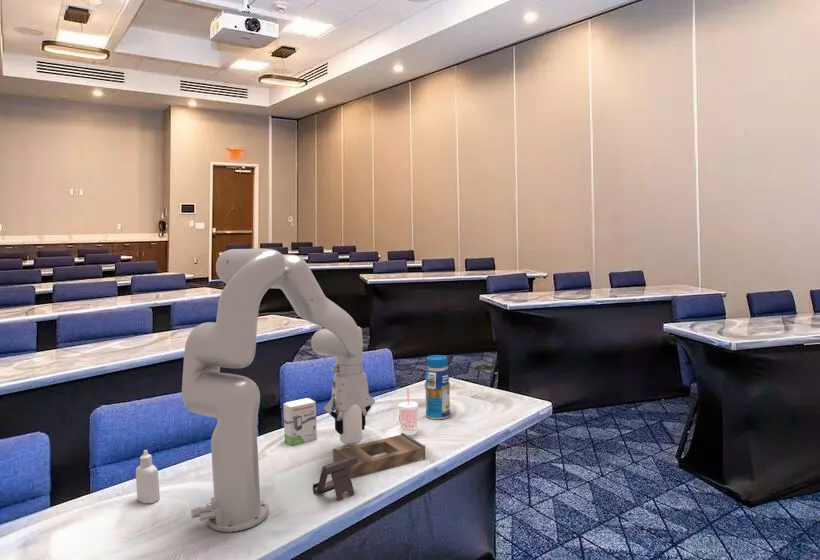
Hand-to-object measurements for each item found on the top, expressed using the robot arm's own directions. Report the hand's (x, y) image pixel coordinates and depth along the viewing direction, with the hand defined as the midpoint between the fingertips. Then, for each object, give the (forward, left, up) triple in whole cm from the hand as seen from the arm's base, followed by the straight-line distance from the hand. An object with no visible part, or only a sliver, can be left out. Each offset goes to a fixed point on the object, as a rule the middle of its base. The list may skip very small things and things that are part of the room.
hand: (350, 430), depth 158 cm
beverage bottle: (+36, +8, -5) cm, 37 cm away
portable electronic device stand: (-14, -24, -5) cm, 28 cm away
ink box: (-10, +13, -5) cm, 18 cm away
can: (0, 0, -3) cm, 3 cm away
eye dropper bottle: (-53, -3, -5) cm, 54 cm away
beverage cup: (+20, 0, -5) cm, 20 cm away
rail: (+3, -13, -5) cm, 14 cm away
